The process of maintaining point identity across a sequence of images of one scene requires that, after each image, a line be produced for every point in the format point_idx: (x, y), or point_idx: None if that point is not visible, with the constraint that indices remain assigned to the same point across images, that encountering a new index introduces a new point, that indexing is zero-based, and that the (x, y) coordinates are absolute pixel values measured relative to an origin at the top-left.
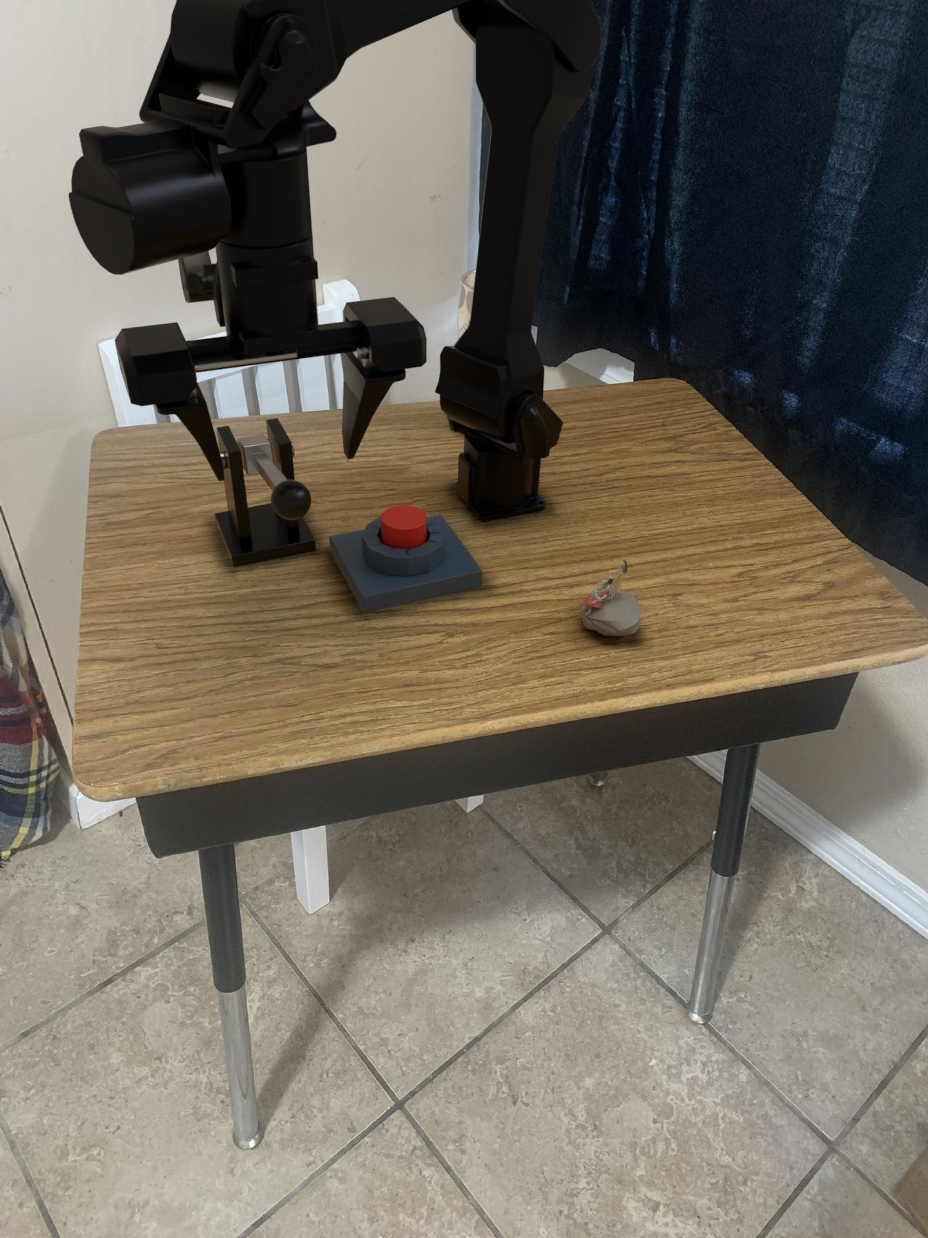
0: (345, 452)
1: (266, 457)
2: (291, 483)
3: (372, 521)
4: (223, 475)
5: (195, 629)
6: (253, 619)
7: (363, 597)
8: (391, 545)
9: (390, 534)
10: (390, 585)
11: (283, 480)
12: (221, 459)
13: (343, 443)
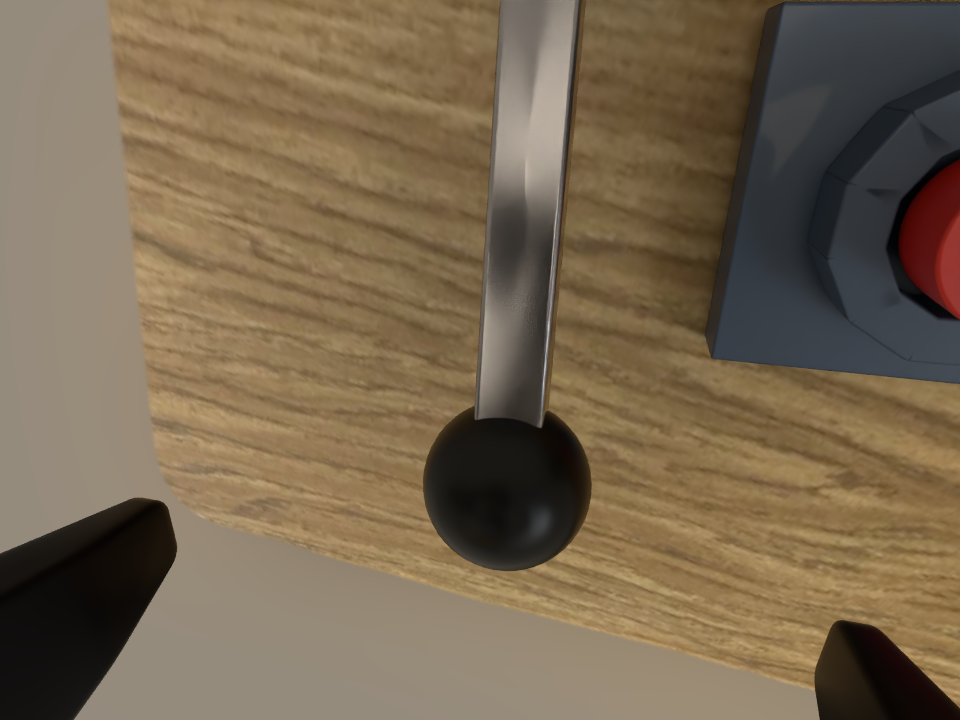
0: (829, 664)
1: None
2: (497, 546)
3: (949, 99)
4: (155, 591)
5: (330, 224)
6: (457, 243)
7: (713, 357)
8: (908, 274)
9: (925, 285)
10: (808, 349)
11: (529, 315)
12: (78, 712)
13: (855, 677)
